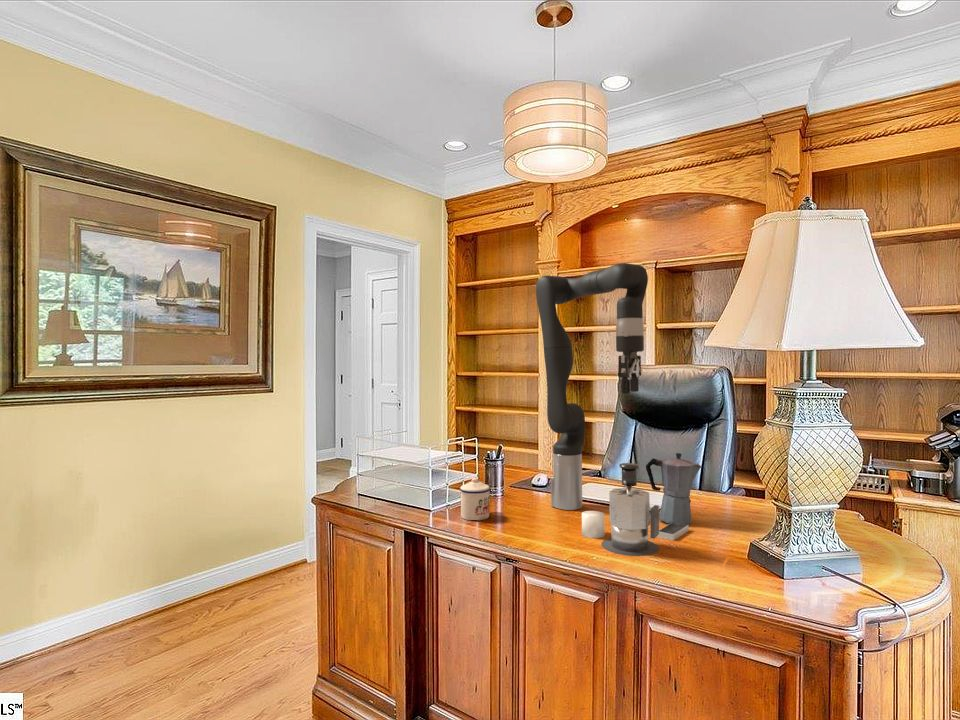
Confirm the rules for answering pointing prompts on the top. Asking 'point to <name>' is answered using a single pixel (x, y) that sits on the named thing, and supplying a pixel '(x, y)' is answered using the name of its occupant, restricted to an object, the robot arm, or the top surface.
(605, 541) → the coaster
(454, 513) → the top surface
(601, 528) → the white rounded cylinder
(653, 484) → the moka pot
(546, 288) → the robot arm
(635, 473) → the plunger
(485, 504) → the teacup with lid
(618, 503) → the press carafe
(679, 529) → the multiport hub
